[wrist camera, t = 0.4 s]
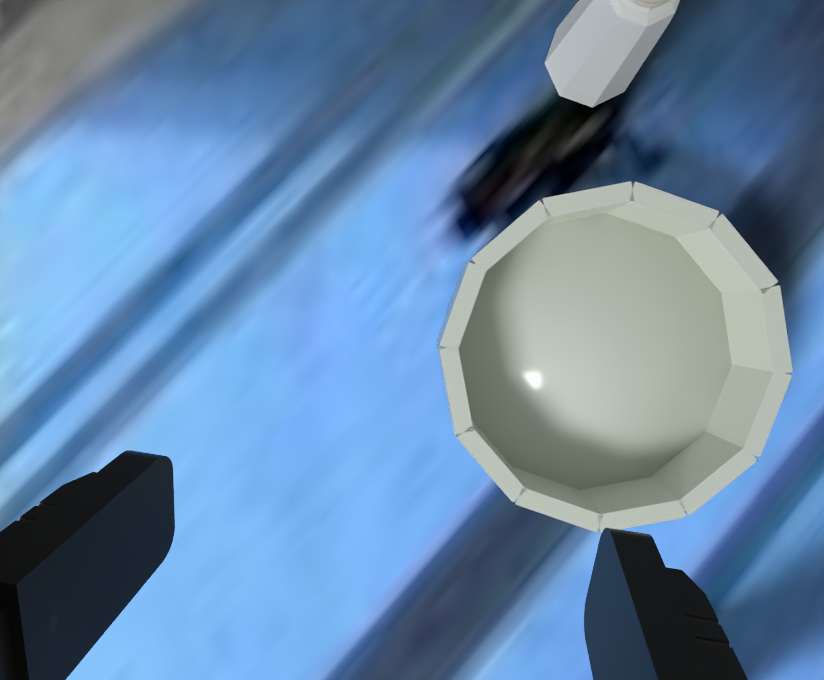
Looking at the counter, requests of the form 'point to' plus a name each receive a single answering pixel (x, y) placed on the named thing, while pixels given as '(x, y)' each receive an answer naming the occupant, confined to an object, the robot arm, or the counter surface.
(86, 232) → the counter surface
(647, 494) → the bowl
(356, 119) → the counter surface
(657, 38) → the salt shaker
